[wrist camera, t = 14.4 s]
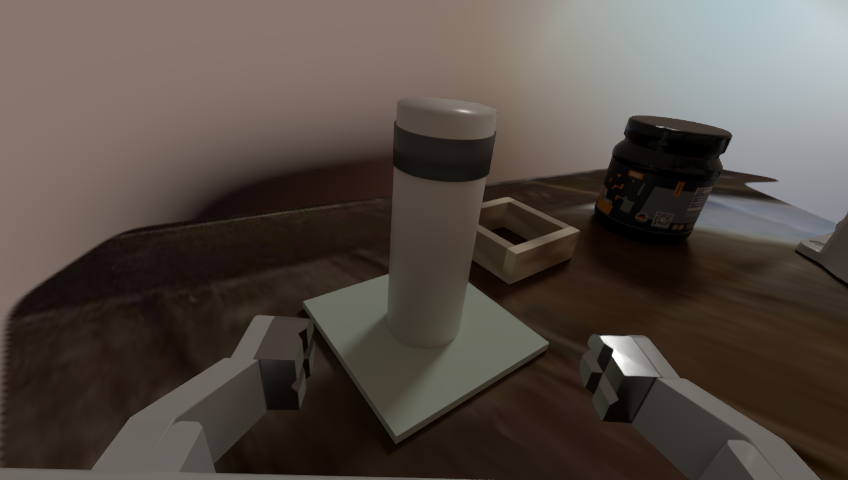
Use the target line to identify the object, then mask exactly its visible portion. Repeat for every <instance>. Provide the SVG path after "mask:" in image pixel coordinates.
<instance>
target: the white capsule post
mask: <svg viewBox="0 0 848 480" xmlns="http://www.w3.org/2000/svg"><path fill="white" fill-rule="evenodd" d="M497 113H498V112H497V110H495V109H493V108H491V107H488V106H485V105H481V104H477V103H472V102H467V101H461V100H453V99H442V98H406V99H401V100H399V101H398V102H397V120H396V121H395V122H394V141H393V165H394V182H393V201H392V222H391V242H390V263H389V283H388V303H387V326H388V329H389V331H390V332H391V334H392V335H393V336H394V337H395V338H396V339H398V340H399V341H401V342H402V343H404V344H406V345H409V346H412V347H416V348H426V349H429V348H437V347H441V346H444V345H446V344H448V343H450V342H451V341H452V340H454V339H455V338H456V336H457V335H458V333H459V330H460V324H461V319H462V313H463V307H464V302H465V296H466V290H467V285H468V279H469V273H470V267H471V262H472V256H473V250H474V245H475V239H476V233H477V228H478V222H479V216H480V210H481V205H482V199H483V193H484V188H485V182H486V176H487V175H488V174H489V170H490V164H491V158H492V153H493V148H494V142H495V136H496V131H495V125H496V119H497Z"/></svg>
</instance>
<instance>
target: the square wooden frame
mask: <svg viewBox="0 0 848 480" xmlns="http://www.w3.org/2000/svg"><path fill="white" fill-rule="evenodd" d="M501 227H505V228H507V229H509V230H510V231H512V232H514V233H516V234H518V235H519V236H521V237H523V238H525V239H527V240H529V241H527V242H525V243H522V244H519V245H516V246H515V245H513V244H512V243H510V242H508V241H506V240H505V239H503V238H501V237H499V236H498V235H496V234H494V233H493V232H491V230H494V229H498V228H501ZM579 233H580V230H577V229H575V228H573V227H571V226H569V225H567V224H565V223H563V222H560V221H558V220H556V219H554V218H552V217H550V216H548V215H546V214H543V213H541V212H539V211H537V210H535V209H533V208H531V207H529V206H526V205H524V204H522V203H520V202H518V201H516V200H514V199H512V198H509V197H506V198H502V199H497V200H493V201H489V202H484V203H482V205H481V210H480V216H479V222H478V228H477V233H476V239H475V245H474V250H473V256H472V260H474V261H475V262H477V263H478V264H480V265H481V266H483V267H484V268H485V269H487V270H488V271H490V272H491V273H493V274H494V275H496V276H497V277H499V278H500V279H502V280H503V281H504V282H506V283H507V284H509V285H510V284H512V283H514V282H517V281H519V280H521V279H524V278H526V277H528V276H531V275H533V274H535V273H538V272H540V271H542V270H545V269H547V268H549V267H552V266H554V265H556V264H559V263H561V262H563V261H565V260H568V259H570V258H571V257H572V254H573V251H574V248H575V245H576V242H577V239H578V236H579Z"/></svg>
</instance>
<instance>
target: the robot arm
mask: <svg viewBox="0 0 848 480" xmlns="http://www.w3.org/2000/svg"><path fill="white" fill-rule="evenodd" d="M835 229H836V230H835V231H834V232H833V233H829V234H825V235H822V236H818V237H814V238H811V239H807V240H803V241H801V242H800V243H799V244H798V245H797V247H796V248H795V249H796V250H797V251H799V252H800V253H802V254H804V255H805V256H807V257H809V258H811V259H813V260H815V261H817V262H818V263H820V264H821V265H823V266H824V267H825V268H826V269H828V270H829V271H830V272H831V273H833V274H834V275H835V276H837V277H838V278H840V279H842V280H843V281H845V282H846V283H848V213H847V215H846V216H845V218H844V219H843V220H841V221H840V222H839V223H838V224H837V226H836V228H835ZM313 331H314V327H313V320H312V319H307V318H294V317H281V316H276V317H275V316H263V315H257V316H256V317H254V318H253V320H252V322H251V323H250V325H249V327H248V329H247V330H246V332H245V334H244V336H243V337H242V339H241V341H240V343H239V344H238V346H237V348H236V350H235V351H234V353H233V355H232V357H231V358H224V359H223V360H221V361H219V362H218V363H216V364H215V365H213V366H211V367H210V368H208V369H207V370H205V371H203V372H202V373H200V374H199V375H197V376H196V377H194V378H192V379H191V380H189V381H188V382H186V383H184V384H183V385H181V386H180V387H178V388H177V389H175V390H173V391H172V392H170V393H169V394H167V395H165V396H164V397H162V398H161V399H159V400H157V401H156V402H154V403H153V404H151V405H150V406H148V407H146V408H145V409H143V410H142V411H140V412H138V413H137V414H135V415H134V416H132V417H130V419H129V420H128V421H127V423H126V424H125V425H124V427H123V428H122V429H121V431H120V432H119V433H118V435H117V436H116V437H115V439H114V440H113V441H112V443H111V444H110V445H109V447H108V448H107V449H106V451H105V452H104V453H103V455H102V456H101V457H100V459H99V460H98V461H97V463H96V464H95V465H94V467H93V468H92V469H91V470H69V469H28V468H0V480H469V479H431V478H391V477H351V476H311V475H271V474H230V473H216V472H215V468H214V465H213V464H214V463H215V462H216V461H217V460H218V459H219V458H220V457H221V456H222V455H223V454H224V453H225V452H226V451H227V450H228V449H229V448H230V447H231V446H232V445H233V444H235V443H236V442H237V441H238V440H239V439H240V438H241V437H242V436H243V435H244V434H245V433H246V432H247V431H248V430H249V429H250V428H251V427H252V426H253V425H254V424H255V423H256V422H257V421H258V420H259V419H260V418H261V417H262V416H263V415H264V414H265V413H266V412H267V410H300V408H301V404H302V401H303V398H304V395H305V391H306V379H307V378H308V377H309V376H310V375H311V371H312V368H313V362H314V356H315V342H314V341H313V340H312V339H311V337H312V334H313ZM588 346H589V348H590V350H589V351H588V352H586V353H585V354H584V355H583V356H582V359H581V362H580V375H581V379H582V382H583V384H584V386H585V388H587V389H588V390H589V391H590V392H591V393H593V394H594V395H593V398H592V402H593V404H594V406H595V408H596V410H597V412H598V414H599V416H600V418H601V420H602V421H607V422H622V423H632V424H631V425H632V426H633V427H634V428H635V429H636V430H637V431H639V432H640V433H641V434H642V435H643V436H644V437H645V438H646V439H647V440H648V441H649V442H650V443H651V444H652V445H653V446H654V447H655V448H657V449H658V450H659V451H660V452H661V453H662V454H663V455H664V456H665V457H666V458H667V459H668V460H669V461H670V462H671V463H672V464H673V465H674V466H676V467H677V468H678V469H679V470H680V471H681V472H682V473H683V474H684V475H685V476H686V477H687V478H688V479H689V480H820V479H819V478H818V477H817V476H816V475H815V473H814V472H813V471H812V470H811V469H810V468H809V467H808V466H807V465H806V464H805V463H804V462H803V460H802V459H801V458H800V457H799V456H798V455H797V454H796V453H795V452H794V451H793V450H792V449H791V447H790V446H789V445H788V444H787V443H786V442H785V441H784V440H782V439H781V438H779V437H778V436H776V435H774V434H773V433H771V432H770V431H768V430H766V429H765V428H763V427H762V426H760V425H758V424H757V423H755V422H754V421H752V420H750V419H749V418H747V417H746V416H744V415H742V414H741V413H739V412H738V411H736V410H734V409H733V408H731V407H730V406H728V405H726V404H725V403H723V402H722V401H720V400H718V399H717V398H715V397H714V396H712V395H710V394H709V393H707V392H706V391H704V390H703V389H701V388H699V387H698V386H696V385H695V384H693V383H691V382H690V381H688V380H687V379H680V377H679V376H678V375H677V374H676V372H675V371H674V370H673V369H672V367H671V366H670V365H669V364H668V362H667V361H666V360H665V359H664V357H663V356H662V355H661V353H660V352H659V351H658V350H657V348H656V347H655V346H654V345H653V343H652V342H651V341H650V340H649V339H648V338H647V337H645V336H638V335H626V336H625V335H607V334H593V335H592V336H591V337H590V339H589V341H588Z"/></svg>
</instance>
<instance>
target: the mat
mask: <svg viewBox="0 0 848 480" xmlns="http://www.w3.org/2000/svg"><path fill="white" fill-rule="evenodd" d="M388 283H389V274H387V275H384V276H381V277H378V278H375V279H372V280H369V281H365V282H362V283H359V284H356V285H353V286H350V287H347V288H344V289H340V290H337V291H334V292H331V293H328V294H325V295H322V296H319V297H315V298H312V299H309V300H306V301H303V305H304V309H305V311H306V312H307V314H308V315H309V317H310V318H311V319H312V320H313V323H314V324H315V326H316V327H317V329H318V330H319V331H320V333H321V334H322V336H323V337H324V339H325V340H326V342H327V343H328V345H329V346H330V348H331V349H332V351H333V352H334V354H335V355H336V357H337V358H338V360H339V361H340V363H341V364H342V366H343V367H344V368H345V370H346V371H347V373H348V374H349V376H350V377H351V379H352V380H353V382H354V383H355V385H356V386H357V388H358V389H359V391H360V392H361V394H362V395H363V397H364V398H365V400H366V401H367V403H368V404H369V406H370V407H371V408H372V410H373V411H374V413H375V414H376V416H377V417H378V419H379V420H380V422H381V423H382V425H383V426H384V428H385V429H386V431H387V432H388V434H389V435H390V437H391V438H392V440H393V441H394V443H395V444H397V443H399V442H400V441H402V440H404V439H405V438H407V437H408V436H410V435H412V434H413V433H415V432H416V431H418V430H419V429H421V428H423V427H424V426H426V425H427V424H429V423H431V422H432V421H434V420H435V419H437V418H439V417H440V416H442V415H443V414H445V413H447V412H448V411H450V410H451V409H453V408H455V407H456V406H458V405H459V404H461V403H463V402H464V401H466V400H467V399H469V398H470V397H472V396H474V395H475V394H477V393H478V392H480V391H482V390H483V389H485V388H486V387H488V386H490V385H491V384H493V383H494V382H496V381H498V380H499V379H501V378H502V377H504V376H506V375H507V374H509V373H510V372H512V371H514V370H515V369H517V368H518V367H520V366H522V365H523V364H525V363H526V362H528V361H529V360H531V359H533V358H534V357H536V356H537V355H539V354H541V353H542V352H544V351H545V350H547V348H548V345H549V342H547V341H546V340H545V339H543V338H542V337H541V336H539V335H538V334H537V333H535V332H534V331H533V330H531V329H530V328H529V327H527V326H526V325H525V324H523V323H522V322H521V321H519V320H518V319H517V318H515V317H514V316H513V315H511V314H510V313H509V312H507V311H506V310H505V309H503V308H502V307H501V306H499V305H498V304H497V303H495V302H494V301H493V300H491V299H490V298H489V297H487V296H486V295H485V294H483V293H482V292H481V291H479V290H478V289H477V288H475V287H474V286H473V285H471V284H470V283H469V282H468V285H467V290H466V296H465V302H464V307H463V313H462V319H461V324H460V330H459V333H458V335H457V336H456V338H455V339H454V340H452V341H451V342H450V343H448V344H446V345H444V346H441V347H437V348H429V349H426V348H416V347H412V346H409V345H406V344H404V343H402V342H401V341H399V340H398V339H396V338H395V337H394V336H393V335H392V334H391V332H390V331H389V329H388V326H387V303H388Z"/></svg>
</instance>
